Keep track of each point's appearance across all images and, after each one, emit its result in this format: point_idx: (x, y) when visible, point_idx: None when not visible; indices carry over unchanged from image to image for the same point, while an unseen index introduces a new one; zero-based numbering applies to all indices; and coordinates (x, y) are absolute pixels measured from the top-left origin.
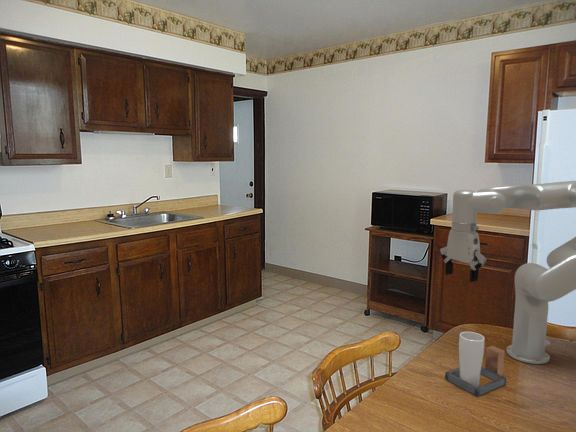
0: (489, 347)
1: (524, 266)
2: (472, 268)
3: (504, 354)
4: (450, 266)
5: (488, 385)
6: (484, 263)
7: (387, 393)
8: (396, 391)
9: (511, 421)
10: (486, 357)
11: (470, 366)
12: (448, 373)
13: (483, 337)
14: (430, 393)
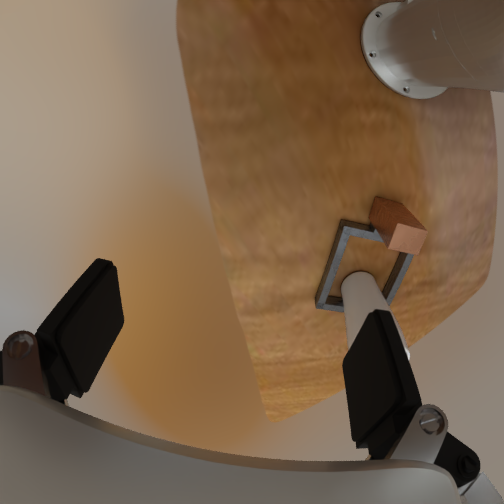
0: (393, 241)
1: None
2: (374, 456)
3: (423, 226)
4: (86, 345)
5: (395, 293)
6: (483, 473)
7: (269, 376)
8: (274, 368)
9: (427, 324)
10: (380, 235)
11: None
12: (322, 307)
13: (407, 353)
14: (316, 345)
